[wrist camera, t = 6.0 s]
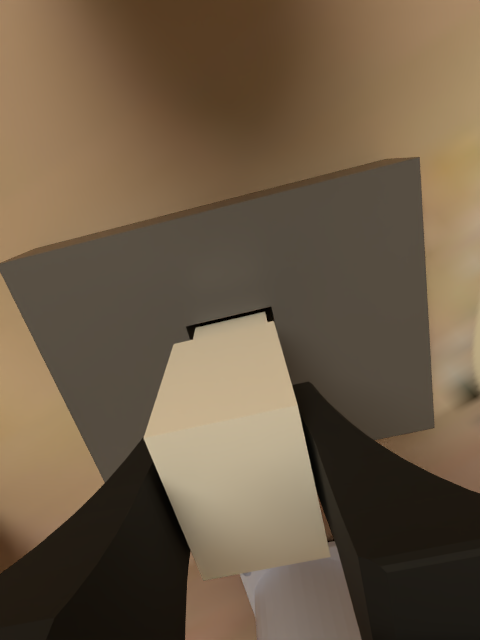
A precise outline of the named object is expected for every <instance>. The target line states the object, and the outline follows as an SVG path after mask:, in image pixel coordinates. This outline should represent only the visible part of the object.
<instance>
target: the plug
mask: <svg viewBox="0 0 480 640" xmlns="http://www.w3.org/2000/svg"><path fill="white" fill-rule="evenodd" d="M144 441H145V443H146V445H147V448H148V450H149V453H150V455H151V457H152V460H153V462H154V464H155V467H156V469H157V472H158V474H159V476H160V479H161V481H162V483H163V486H164V488H165V491H166V493H167V495H168V498H169V500H170V502H171V505H172V507H173V510H174V512H175V514H176V517H177V519H178V522H179V524H180V526H181V529H182V531H183V533H184V536H185V538H186V541H187V543H188V545H189V548H190V550H191V552H192V555H193V557H194V560H195V562H196V564H197V567H198V569H199V571H200V574H201V576H202V579H203V581H205V580H210V579H216V578H221V577H226V576H232V575H237V574H242V573H248V572H253V571H258V570H264V569H269V568H274V567H280V566H285V565H291V564H296V563H301V562H307V561H312V560H317V559H323V558H328V557H331V556H330V551H329V546H328V542H327V537H326V533H325V528H324V524H323V519H322V514H321V510H320V505H319V501H318V496H317V491H316V487H315V482H314V478H313V473H312V469H311V464H310V459H309V455H308V450H307V446H306V441H305V436H304V432H303V427H302V423H301V418H300V414H299V409H298V405H297V401H296V397H295V394H294V390H293V387H292V383H291V380H290V376H289V373H288V369H287V366H286V362H285V359H284V355H283V352H282V348H281V345H280V341H279V338H278V334H277V331H276V327H275V323H274V321H271V322H267V318H266V314H265V312H261V313H256V314H252V315H248V316H244V317H239V318H235V319H231V320H226V321H222V322H218V323H214V324H209V325H205V326H201V327H196V328H195V332H194V337H193V340H189V341H185V342H180V343H176V344H174V345H173V348H172V351H171V354H170V357H169V360H168V363H167V366H166V370H165V373H164V376H163V379H162V382H161V385H160V388H159V391H158V394H157V398H156V401H155V404H154V407H153V410H152V413H151V416H150V419H149V423H148V426H147V429H146V432H145V435H144Z"/></svg>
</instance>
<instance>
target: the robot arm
mask: <svg viewBox="0 0 480 640" xmlns="http://www.w3.org/2000/svg"><path fill="white" fill-rule="evenodd" d="M292 387H293V390H294V394H295V397H296V401H297V405H298V409H299V414H300V418H301V423H302V427H303V432H304V436H305V441H306V446H307V450H308V455H309V459H310V464H311V469H312V473H313V478H314V482H315V487H316V491H317V494H318V496H319V499H320V502H321V505H322V507H323V510H324V513H325V516H326V518H327V521H328V524H329V527H330V529H331V532H332V535H333V538H334V541H332V542H328V546H329V551H330V556H331V557H328V558H323V559H317V560H312V561H307V562H301V563H296V564H291V565H285V566H280V567H274V568H269V569H264V570H258V571H253V572H248V573H242V574H240V576H241V579H242V582H243V585H244V587H245V590H246V593H247V596H248V599H249V601H250V604H251V607H252V610H253V612H254V615H255V618H256V632H257V640H480V494H479V493H476V492H474V491H471V490H468V489H466V488H463V487H461V486H459V485H456V484H454V483H452V482H449V481H447V480H445V479H442V478H440V477H438V476H436V475H434V474H432V473H430V472H428V471H426V470H424V469H422V468H420V467H418V466H416V465H414V464H412V463H410V462H408V461H406V460H404V459H403V458H401V457H399V456H398V455H396V454H394V453H393V452H391V451H390V450H388V449H386V448H385V447H383V446H382V445H380V444H379V443H377V442H376V441H374V440H373V439H372V438H370V437H369V436H367V435H366V434H365V433H364V432H362V431H361V430H360V429H358V428H357V427H356V426H355V425H353V424H352V423H351V422H350V421H349V420H347V419H346V418H345V417H344V416H343V415H342V414H341V413H339V412H338V411H337V410H336V409H335V408H334V407H333V406H332V405H331V404H330V403H329V402H328V401H327V400H326V399H325V398H324V397H323V396H322V395H321V394H320V393H319V391H318V390H317V389H316V388H315V387H314V385H313V384H312V383H310V382H309V381H308V382H304V383H299V384H295V385H292ZM189 558H190V548H189V545H188V543H187V541H186V538H185V536H184V533H183V531H182V529H181V526H180V524H179V522H178V519H177V517H176V514H175V512H174V510H173V507H172V505H171V502H170V500H169V498H168V495H167V493H166V491H165V488H164V486H163V483H162V481H161V479H160V476H159V474H158V472H157V469H156V467H155V464H154V462H153V460H152V457H151V455H150V453H149V450H148V448H147V445H146V443H145V441H144V437H143V438H142V439H141V441H140V442H139V443H138V444H137V446H136V447H135V448H134V449H133V451H132V452H131V453H130V454H129V456H128V457H127V458H126V459H125V461H124V462H123V463H122V464H121V465H120V466H119V467H118V469H117V470H116V471H115V472H114V473H113V474H112V475H111V477H110V478H109V479H108V480H107V481H106V482H105V484H104V485H103V486H102V487H101V488H100V489H99V490H98V491H97V492H96V493H95V494H94V495H93V496H92V497H91V498H90V499H89V500H88V501H87V502H86V503H85V504H84V505H83V506H82V507H81V508H80V509H79V510H78V511H77V512H76V513H75V514H74V515H73V516H71V517H70V518H69V519H68V520H67V521H66V522H65V523H63V524H62V525H61V526H60V527H59V528H58V529H56V530H55V531H54V532H53V533H52V534H51V535H49V536H48V537H47V538H46V539H45V540H44V541H43V542H41V543H40V544H39V545H38V546H36V547H35V548H34V549H33V550H31V551H30V552H29V553H27V554H26V555H25V556H24V557H22V558H21V559H20V560H18V561H17V562H16V563H14V564H13V565H12V566H10V567H9V568H8V569H6V570H5V571H4V572H2V573H1V574H0V640H185V619H186V594H187V576H188V565H189Z"/></svg>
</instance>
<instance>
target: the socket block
mask: <svg viewBox="0 0 480 640" xmlns="http://www.w3.org/2000/svg"><path fill="white" fill-rule="evenodd" d="M0 272H1V274H2V276H3V278H4V280H5V282H6V284H7V286H8V288H9V290H10V292H11V295H12V297H13V299H14V301H15V303H16V305H17V307H18V309H19V311H20V313H21V315H22V317H23V319H24V321H25V323H26V325H27V327H28V329H29V331H30V333H31V335H32V337H33V339H34V341H35V343H36V345H37V347H38V349H39V351H40V353H41V355H42V357H43V359H44V361H45V363H46V365H47V367H48V369H49V371H50V373H51V375H52V377H53V379H54V381H55V383H56V385H57V387H58V389H59V391H60V393H61V395H62V397H63V399H64V401H65V403H66V405H67V407H68V409H69V411H70V413H71V415H72V417H73V419H74V421H75V423H76V425H77V427H78V429H79V431H80V433H81V436H82V438H83V440H84V442H85V444H86V446H87V448H88V450H89V452H90V454H91V456H92V458H93V460H94V462H95V464H96V466H97V468H98V470H99V472H100V474H101V476H102V478H103V480H104V482H106V481H107V480H108V479H109V478H110V477H111V475H112V474H113V473H114V472H115V471H116V470H117V469H118V467H119V466H120V465H121V464H122V463H123V462H124V461H125V459H126V458H127V457H128V456H129V454H130V453H131V452H132V451H133V449H134V448H135V447H136V446H137V444H138V443H139V442H140V441H141V439H142V438H143V437H144V435H145V432H146V429H147V426H148V423H149V419H150V416H151V413H152V410H153V407H154V404H155V401H156V398H157V394H158V391H159V388H160V385H161V382H162V379H163V376H164V373H165V370H166V366H167V363H168V360H169V357H170V354H171V351H172V348H173V345H174V344H176V343H180V342H185V341H189V340H193V337H194V332H195V328H196V327H200V325H199V323H203V322H207V321H211V320H216V319H220V318H224V317H228V316H233V315H237V314H241V313H246V312H250V311H254V310H258V309H263V308H267V307H270V309H271V314H272V318H273V321H274V323H275V327H276V331H277V334H278V338H279V341H280V345H281V348H282V352H283V355H284V359H285V362H286V366H287V369H288V373H289V376H290V380H291V383H292V385H295V384H299V383H304V382H308V381H309V382H310V383H312V384H313V385H314V387H315V388H316V389H317V390H318V391H319V393H320V394H321V395H322V396H323V397H324V398H325V399H326V400H327V401H328V402H329V403H330V404H331V405H332V406H333V407H334V408H335V409H336V410H337V411H338V412H339V413H341V414H342V415H343V416H344V417H345V418H346V419H347V420H349V421H350V422H351V423H352V424H353V425H355V426H356V427H357V428H358V429H360V430H361V431H362V432H364V433H365V434H366V435H367V436H369V437H370V438H372V439H373V440H378V439H383V438H388V437H393V436H398V435H402V434H407V433H412V432H417V431H422V430H427V429H432V428H434V411H433V393H432V374H431V356H430V338H429V320H428V302H427V284H426V266H425V247H424V229H423V211H422V193H421V175H420V157H412V158H394V159H384V160H380V161H377V162H373V163H369V164H365V165H361V166H357V167H353V168H349V169H345V170H341V171H337V172H333V173H329V174H326V175H322V176H318V177H314V178H310V179H306V180H302V181H298V182H294V183H290V184H286V185H282V186H279V187H275V188H271V189H267V190H263V191H259V192H255V193H251V194H247V195H243V196H239V197H235V198H232V199H228V200H224V201H220V202H216V203H212V204H208V205H204V206H200V207H196V208H192V209H188V210H185V211H181V212H177V213H173V214H169V215H165V216H161V217H157V218H153V219H149V220H145V221H141V222H137V223H134V224H130V225H126V226H122V227H118V228H114V229H110V230H106V231H102V232H98V233H94V234H90V235H87V236H83V237H79V238H75V239H71V240H67V241H63V242H59V243H55V244H51V245H47V246H43V247H40V248H36V249H33V250H30V251H28V252H26V253H23V254H21V255H18V256H16V257H14V258H11V259H9V260H6V261H4V262H1V263H0Z"/></svg>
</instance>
